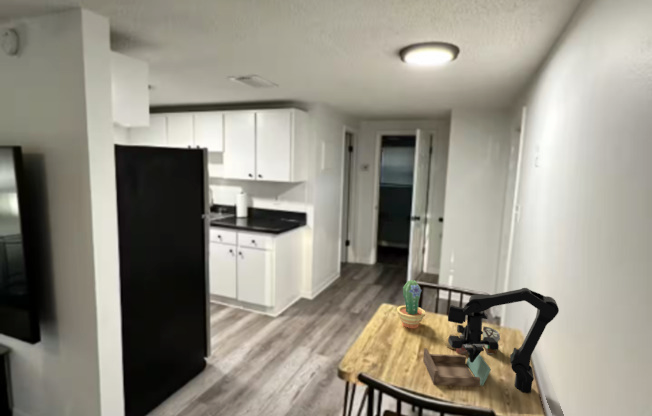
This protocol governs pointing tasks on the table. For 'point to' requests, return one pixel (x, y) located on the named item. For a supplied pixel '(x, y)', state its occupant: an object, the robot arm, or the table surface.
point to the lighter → (462, 349)
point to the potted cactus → (411, 305)
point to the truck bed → (449, 370)
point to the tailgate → (479, 368)
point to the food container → (490, 333)
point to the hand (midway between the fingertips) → (471, 361)
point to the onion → (448, 342)
